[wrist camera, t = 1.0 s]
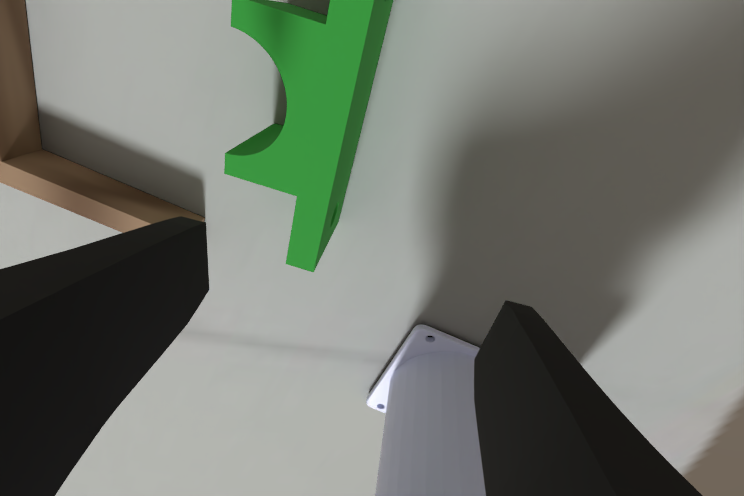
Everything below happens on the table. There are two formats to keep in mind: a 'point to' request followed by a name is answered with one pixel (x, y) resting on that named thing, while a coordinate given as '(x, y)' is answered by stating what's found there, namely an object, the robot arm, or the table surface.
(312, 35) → the pipe clamp
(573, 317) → the table surface
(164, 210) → the walnut bay
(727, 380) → the table surface
